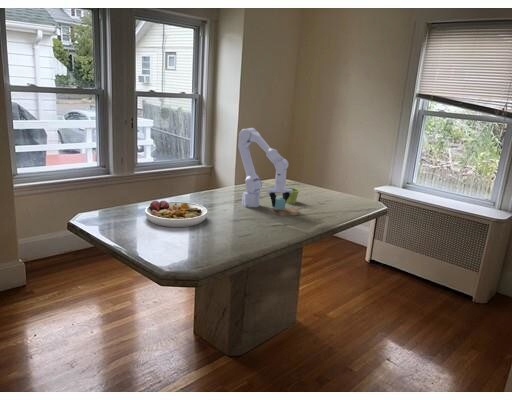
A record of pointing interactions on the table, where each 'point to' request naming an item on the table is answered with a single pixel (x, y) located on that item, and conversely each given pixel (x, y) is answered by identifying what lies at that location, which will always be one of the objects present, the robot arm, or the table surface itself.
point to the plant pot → (292, 196)
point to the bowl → (175, 213)
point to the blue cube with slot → (279, 203)
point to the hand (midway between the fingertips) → (278, 205)
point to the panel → (286, 211)
